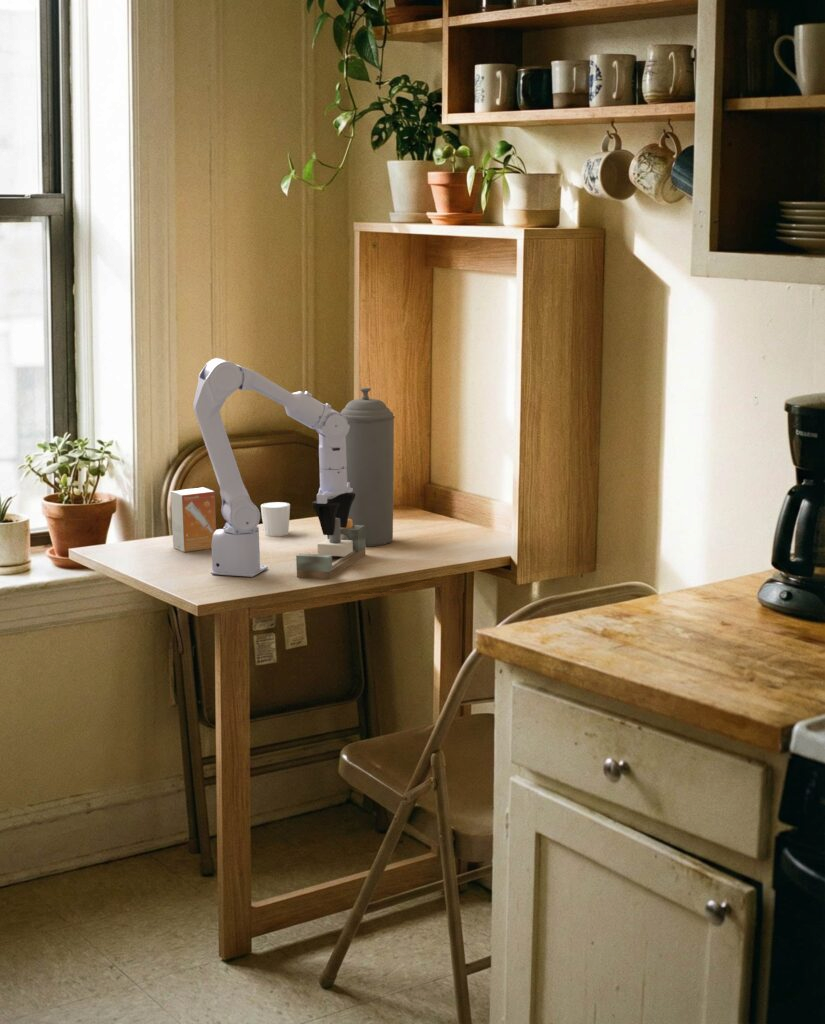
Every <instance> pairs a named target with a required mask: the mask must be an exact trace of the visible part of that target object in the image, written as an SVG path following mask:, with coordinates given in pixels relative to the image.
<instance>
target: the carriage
mask: <svg viewBox="0 0 825 1024" xmlns="http://www.w3.org/2000/svg"><path fill="white" fill-rule="evenodd" d="M351 552H353V540H341V530H340V518H336V519H335V530H334V534H333V535H329V539H327V538H325V539H323V540H322V541H320V542H318V543H317V554H320V555H332V556H342V557H345V556H346V555H348V554H349V553H351Z"/></svg>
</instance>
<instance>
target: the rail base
mask: <svg viewBox="0 0 825 1024" xmlns="http://www.w3.org/2000/svg"><path fill="white" fill-rule="evenodd" d="M340 530H341V540H353V552H351V553H349V554H348V555H346V556H345V557H342V556H332V555H320V554H318V553H316V554H315V553H297V554H296V555H295V556H296V557H295V558H296V559H295V560H296V562H295V563H296V577H297V578H305V579H307V578H308V579H309V578H310V579H321V580H322V579H324V580H330V579H331V578H333V577H334V576H336V575H337V574H339V573H340V572H342V571H343V570H345V569H346V568H348V567H349V566H351V565H352V564H354V563H355V562H357V561H358V560H360V559H361V558H363V557H364V556H366V555H367V554H366V546H365V525H353V528H351V529H345V528H340ZM326 537H327V538H326V539H329V535H326Z"/></svg>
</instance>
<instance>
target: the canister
mask: <svg viewBox="0 0 825 1024" xmlns="http://www.w3.org/2000/svg"><path fill="white" fill-rule="evenodd" d="M359 391H360V392H361V393H362V396H361V398H357V399H353V400H349V402H347V404H345V407H344V408H343V409H342V410H341V411H340V413H341V414H343V415H344V416H345V417H346V419H347V421H348V425H350V428H349V431H348V433H347V435H346V457H347V482H350V488H353V491H352V492H350V493H355V498H354V500H353V502H352V505H351V508H350V512H349V516H348V519H352V524H353V525H365V547H375V546H382V545H386V544H389V543H391V542H392V540H393V538H394V537H393V536H394V535H393V532H394V460H395V458H394V457H395V455H394V451H395V450H394V448H395V447H394V442H395V440H394V436H395V434H394V433H395V432H394V428H395V427H394V425H395V424H394V422H395V420H394V419H395V416H394V412H393V411H391V409H390V408H389V407H387V405H386V403H384V401H382V400H380V399H377V398H370V397H369V394H368V393H369V392H370V391H371V387H360V388H359Z"/></svg>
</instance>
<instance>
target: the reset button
mask: <svg viewBox="0 0 825 1024" xmlns="http://www.w3.org/2000/svg"><path fill="white" fill-rule="evenodd" d="M340 528H342V527H340ZM351 528H353V524H352V519H348V522H347V526H346V528H345V529H351Z"/></svg>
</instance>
